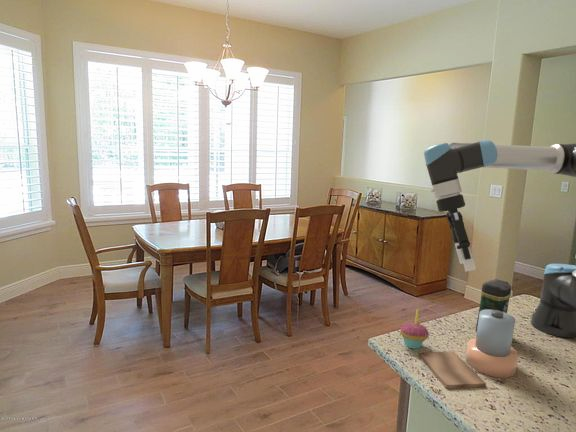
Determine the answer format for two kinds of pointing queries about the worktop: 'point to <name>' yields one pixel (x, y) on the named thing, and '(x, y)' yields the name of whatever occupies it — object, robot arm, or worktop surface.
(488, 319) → the blue-grey knobbed jar
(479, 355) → the peach round dome
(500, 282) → the coffee jar
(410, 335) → the cupcake
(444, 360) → the mat
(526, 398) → the worktop surface
